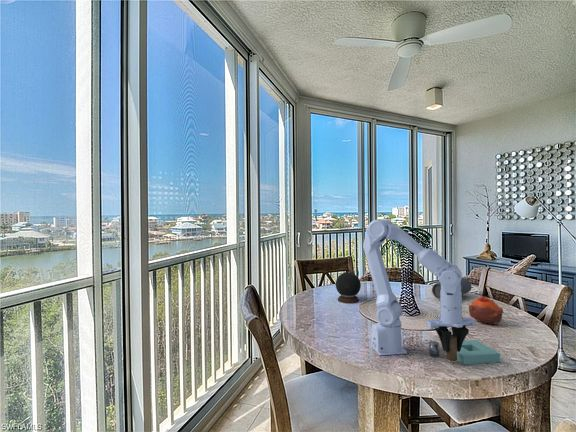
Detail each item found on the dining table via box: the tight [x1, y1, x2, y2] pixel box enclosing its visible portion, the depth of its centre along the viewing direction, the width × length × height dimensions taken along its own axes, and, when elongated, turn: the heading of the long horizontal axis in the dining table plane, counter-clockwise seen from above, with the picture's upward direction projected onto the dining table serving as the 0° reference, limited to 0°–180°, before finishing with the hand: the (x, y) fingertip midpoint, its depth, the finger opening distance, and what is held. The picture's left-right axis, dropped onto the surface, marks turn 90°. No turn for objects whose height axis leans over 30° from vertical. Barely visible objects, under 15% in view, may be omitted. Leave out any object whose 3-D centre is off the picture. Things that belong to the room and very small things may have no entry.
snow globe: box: [335, 271, 362, 305], centre depth 161 cm, size 13×13×15 cm
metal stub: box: [428, 340, 440, 358], centre depth 98 cm, size 3×3×4 cm
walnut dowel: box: [445, 333, 458, 362], centre depth 92 cm, size 3×3×7 cm
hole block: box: [457, 339, 501, 365], centre depth 97 cm, size 12×10×2 cm
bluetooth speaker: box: [431, 277, 472, 300], centre depth 161 cm, size 23×9×10 cm, turn 120°
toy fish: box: [468, 295, 504, 325], centre depth 124 cm, size 12×10×11 cm
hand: (451, 350), depth 92 cm, fingers closed on walnut dowel, 3 cm apart
